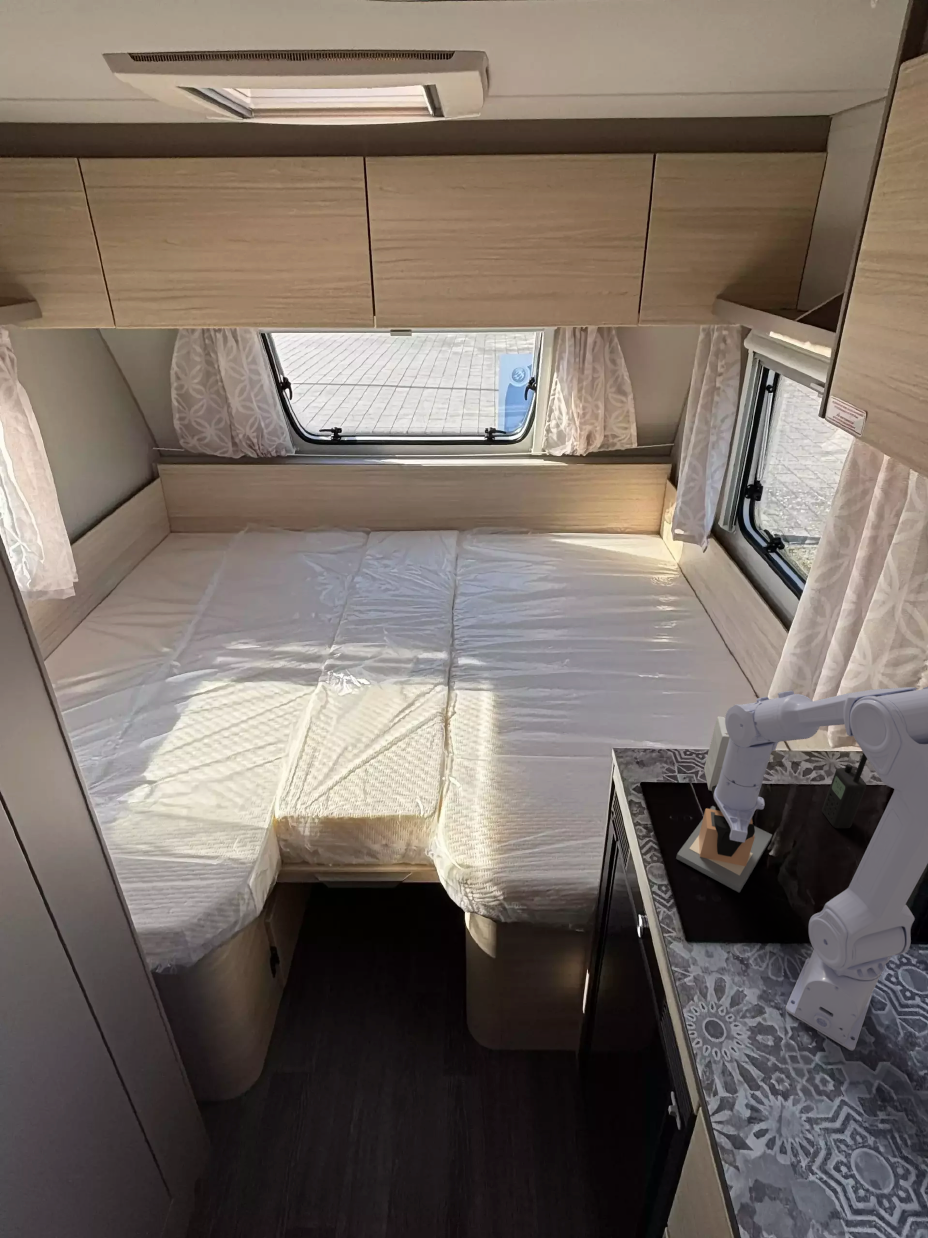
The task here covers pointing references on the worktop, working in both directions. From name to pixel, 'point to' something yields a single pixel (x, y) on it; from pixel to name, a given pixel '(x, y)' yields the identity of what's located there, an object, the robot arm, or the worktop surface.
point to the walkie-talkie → (845, 795)
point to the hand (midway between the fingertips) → (723, 842)
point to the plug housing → (710, 842)
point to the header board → (720, 870)
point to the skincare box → (716, 753)
